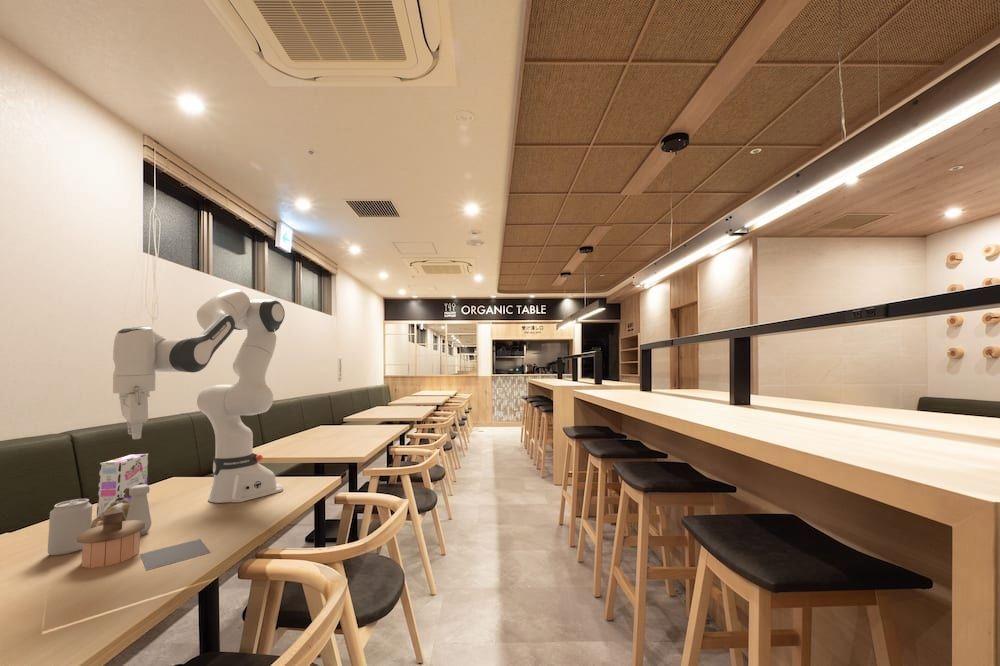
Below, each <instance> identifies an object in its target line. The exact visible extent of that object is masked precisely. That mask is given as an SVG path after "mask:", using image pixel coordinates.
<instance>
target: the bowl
mask: <svg viewBox="0 0 1000 666" xmlns="http://www.w3.org/2000/svg"><path fill="white" fill-rule="evenodd" d="M140 542H141V536H140V531H139V532H137V533H135V534H132V535H129V536H126V537H123V538H119V539H115V540H111V541H106V542H99V543H82V550H81V567H82V568H86V569H87V568H88V569H94V568H100V567H108V566H112V565H115V564H119V563H122V562H125V561H126V560H129V559H132V558H133V557H135V556H137V555H138V554H139V553H140V547H141V546H140V544H141V543H140Z"/></svg>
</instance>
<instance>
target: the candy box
mask: <svg viewBox="0 0 1000 666" xmlns="http://www.w3.org/2000/svg"><path fill="white" fill-rule="evenodd" d="M148 473H149V453H139V454H128V455H125V456H122V457H119V458H115V459H111V460H108V461H105V462H100V463H99V474H98V490H97V507H96V518H100V513H101V512H102V511H103V509H104V508H105V507H106V506H107V505H108V504H109V503H110V502H111V501H113V500H114V499H115V498H116V497H119V498H125V499H127V500H128V501H129V502H131V498H132V496H130V495H129V491H130V488H131V487H133V486H136V485H142V484H146V485H148Z"/></svg>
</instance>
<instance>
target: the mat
mask: <svg viewBox="0 0 1000 666" xmlns="http://www.w3.org/2000/svg"><path fill="white" fill-rule="evenodd" d="M211 553H212V552H211V551H210V550H209V547H208V546H206V545H205V543H204V542H203V540H202V539H201V538H199V539H195V540H191V541H187V542H182V543H179V544H175V545H170V546H166V547H162V548H159V549H156V550H151V551H147V552H143V553H140V554H139V555H140V558H141V560H142V563H143V565H144V569H145V571H150V570H154V569H157V568H160V567H165V566H169V565H172V564H176V563H179V562H183V561H187V560H191V559H195V558H197V557H201V556H205V555H208V554H211Z"/></svg>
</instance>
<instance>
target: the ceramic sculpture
mask: <svg viewBox="0 0 1000 666" xmlns="http://www.w3.org/2000/svg"><path fill="white" fill-rule="evenodd" d="M129 506H130V502H129V501H128V500H127V499H125V498H119V497H116V498H115V499H114V500H113V501H111V502H110V503H109V504H108V505H107V506H106V507H105V508H104V509H103V511H102V512H101V513H100V517H99V518H100V520H98V521H97V522H96V523H95V525H94V527H97V526H101V525H103V517H104V512H108V511H113V510H119V509H122V511H123V518H122V521H126V518H127V514H128V510H129Z"/></svg>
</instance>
